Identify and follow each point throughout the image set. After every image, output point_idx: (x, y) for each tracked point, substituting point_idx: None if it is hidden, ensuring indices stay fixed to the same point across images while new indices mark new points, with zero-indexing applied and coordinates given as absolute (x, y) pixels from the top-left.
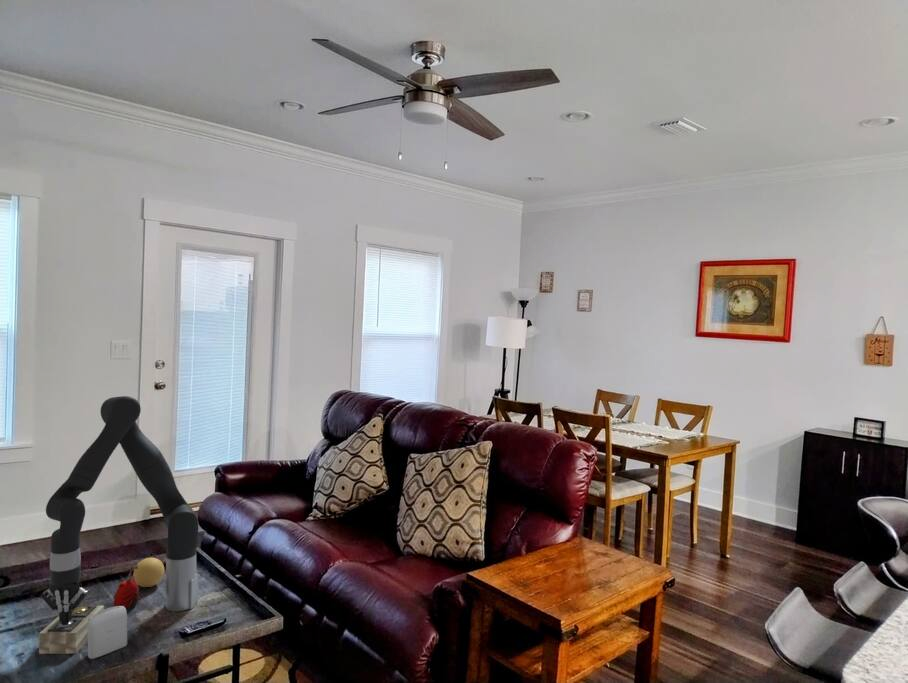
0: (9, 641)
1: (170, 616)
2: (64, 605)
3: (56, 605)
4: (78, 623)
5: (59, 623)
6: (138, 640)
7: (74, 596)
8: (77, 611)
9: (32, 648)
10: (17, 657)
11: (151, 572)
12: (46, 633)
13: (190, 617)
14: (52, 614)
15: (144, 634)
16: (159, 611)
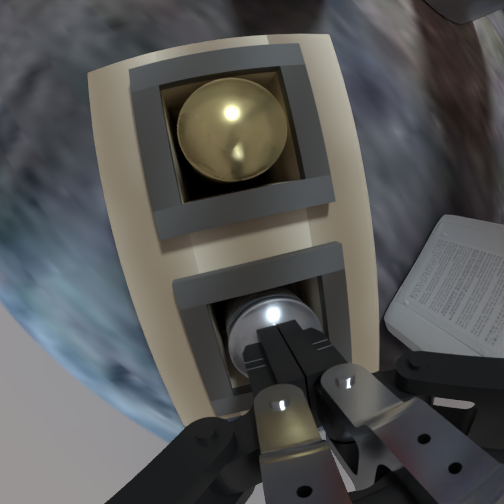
0: (5, 302)
1: (460, 46)
2: (348, 474)
3: (249, 488)
4: (343, 297)
5: (239, 359)
6: (470, 195)
7: (439, 416)
8: (236, 165)
9: (122, 335)
10: (129, 392)
11: None
12: (223, 418)
13: (495, 64)
14: (5, 77)
15: (467, 155)
16: (414, 7)
